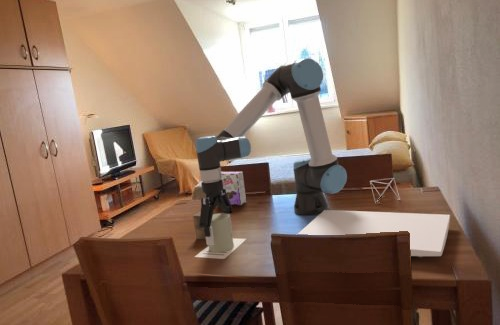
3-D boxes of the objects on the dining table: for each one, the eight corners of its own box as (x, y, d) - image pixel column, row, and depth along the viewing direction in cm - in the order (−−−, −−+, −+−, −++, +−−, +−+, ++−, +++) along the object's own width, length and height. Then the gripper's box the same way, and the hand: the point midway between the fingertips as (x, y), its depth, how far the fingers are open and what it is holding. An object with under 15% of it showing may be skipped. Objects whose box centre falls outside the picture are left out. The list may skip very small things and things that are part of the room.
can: (231, 251, 136) (226, 218, 134) (205, 253, 137) (201, 220, 136) (236, 241, 145) (231, 210, 143) (212, 243, 146) (207, 212, 145)
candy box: (218, 204, 203) (214, 173, 201) (225, 201, 208) (221, 171, 206) (240, 205, 196) (236, 173, 194) (247, 202, 201) (242, 171, 198)
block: (217, 234, 157) (213, 211, 155) (209, 240, 151) (206, 215, 150) (204, 234, 159) (200, 211, 158) (196, 240, 154) (192, 215, 152)
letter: (246, 239, 147) (246, 238, 147) (224, 259, 131) (224, 258, 131) (219, 238, 152) (218, 237, 152) (194, 257, 136) (194, 256, 136)
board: (292, 252, 131) (291, 239, 130) (325, 220, 158) (324, 209, 157) (441, 267, 107) (440, 251, 106) (450, 227, 134) (449, 214, 133)
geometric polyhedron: (402, 197, 175) (401, 177, 174) (397, 204, 166) (396, 183, 165) (374, 196, 182) (372, 177, 181) (368, 203, 173) (366, 183, 172)
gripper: (219, 172, 150) (226, 225, 153) (183, 189, 128) (192, 250, 131) (236, 172, 147) (243, 225, 150) (202, 189, 124) (211, 251, 128)
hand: (220, 237), depth 141 cm, fingers open, 13 cm apart
